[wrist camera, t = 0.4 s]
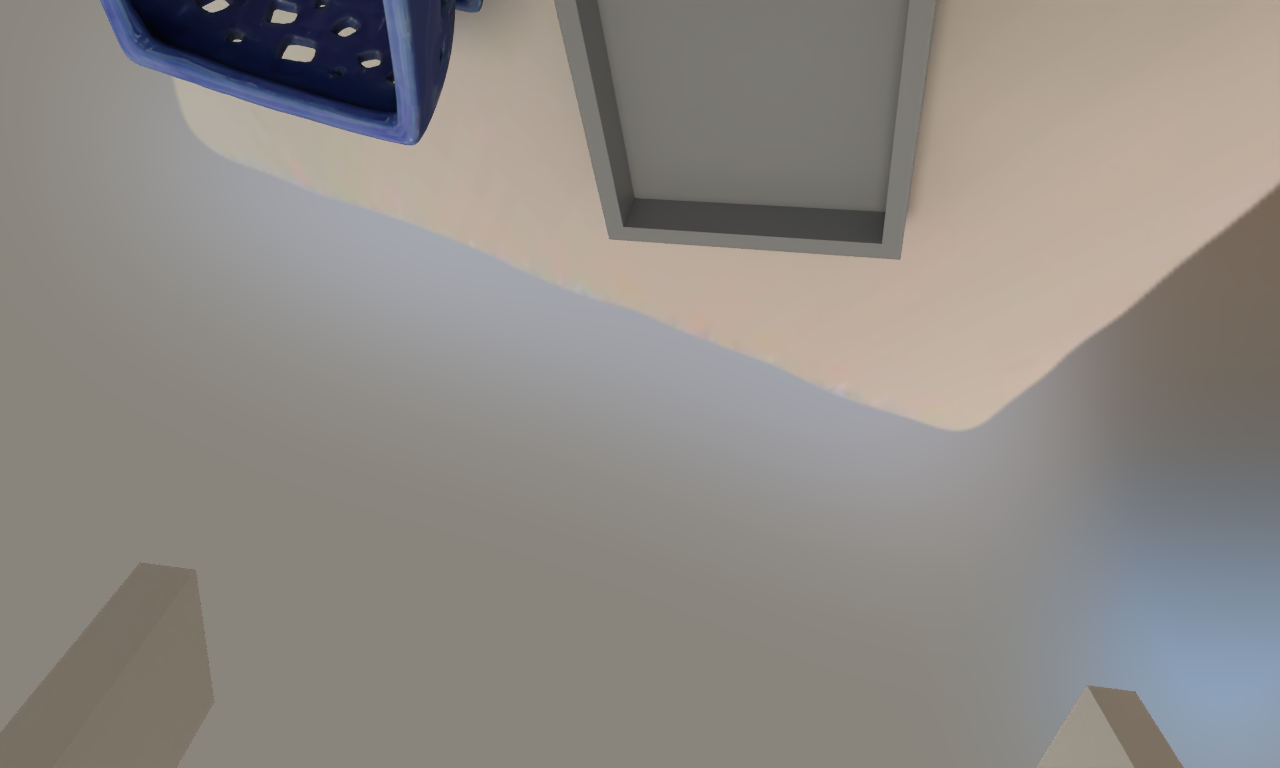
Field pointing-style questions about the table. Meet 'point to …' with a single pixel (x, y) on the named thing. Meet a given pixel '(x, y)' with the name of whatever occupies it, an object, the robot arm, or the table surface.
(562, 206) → the table surface
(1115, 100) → the table surface
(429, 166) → the table surface
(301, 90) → the flower pot
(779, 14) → the tray
